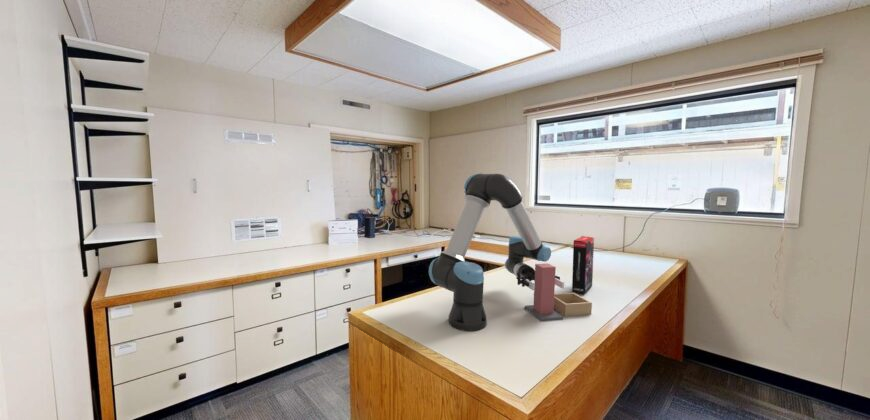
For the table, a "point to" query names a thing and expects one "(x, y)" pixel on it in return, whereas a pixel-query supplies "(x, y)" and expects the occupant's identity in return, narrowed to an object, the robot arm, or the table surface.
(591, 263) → the graphics card box
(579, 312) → the hollow rectangular frame
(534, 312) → the rubber mat
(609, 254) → the table surface
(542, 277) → the pink rectangular block
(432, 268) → the robot arm
